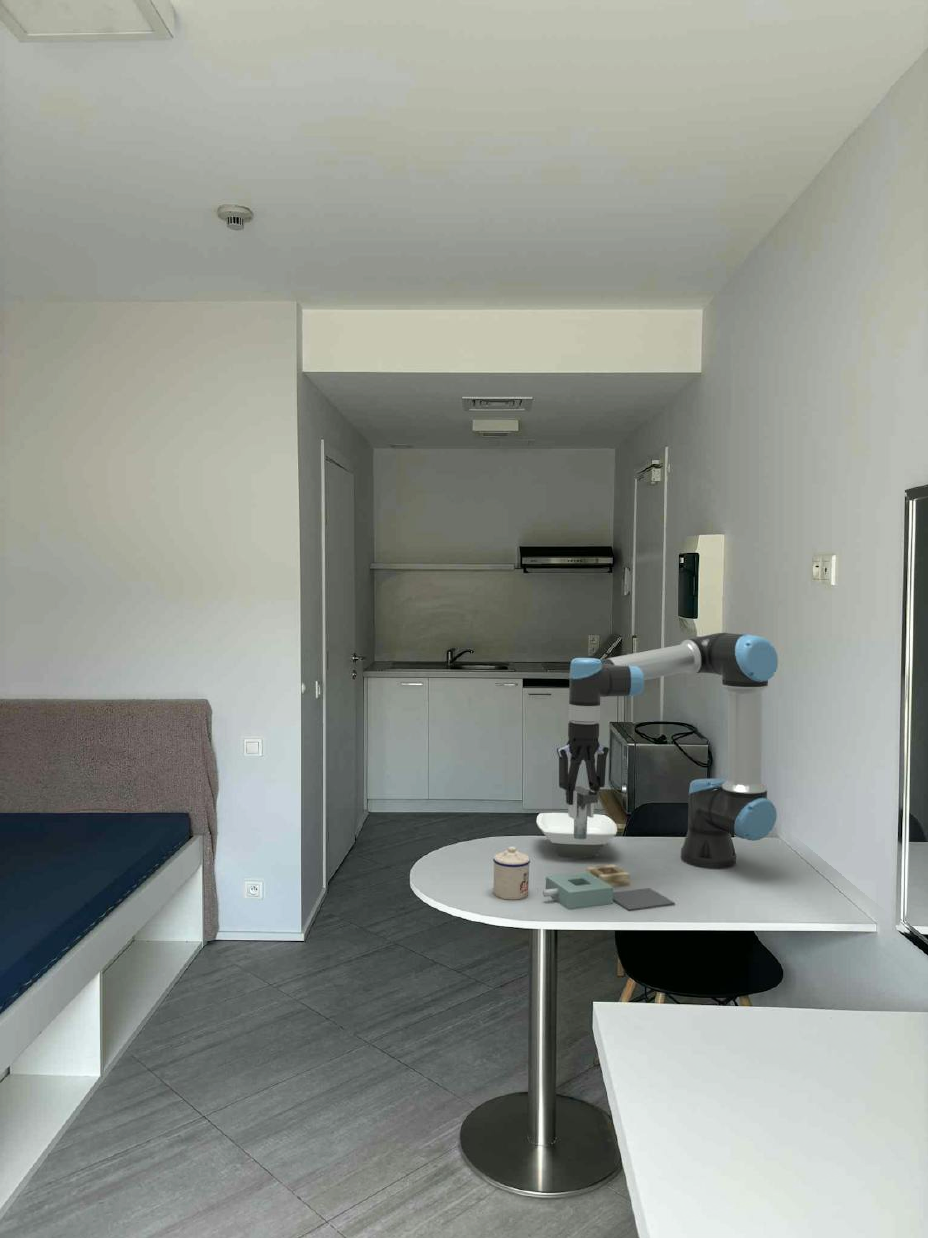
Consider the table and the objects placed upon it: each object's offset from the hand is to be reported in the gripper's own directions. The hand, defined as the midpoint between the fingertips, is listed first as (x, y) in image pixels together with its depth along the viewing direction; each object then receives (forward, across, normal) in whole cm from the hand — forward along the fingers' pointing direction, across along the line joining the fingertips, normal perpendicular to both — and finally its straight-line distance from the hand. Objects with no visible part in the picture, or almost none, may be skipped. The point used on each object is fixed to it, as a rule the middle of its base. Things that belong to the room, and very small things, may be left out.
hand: (580, 816), depth 217 cm
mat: (+20, -14, +6) cm, 25 cm away
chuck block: (+20, +2, 0) cm, 20 cm away
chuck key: (+5, 0, 0) cm, 5 cm away
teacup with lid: (+20, +14, -9) cm, 26 cm away
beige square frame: (+20, -13, -8) cm, 25 cm away
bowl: (+20, -18, -34) cm, 44 cm away
